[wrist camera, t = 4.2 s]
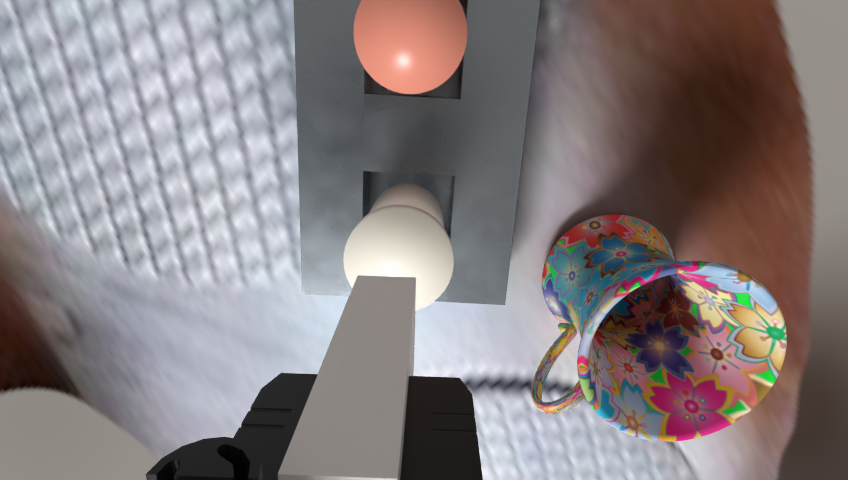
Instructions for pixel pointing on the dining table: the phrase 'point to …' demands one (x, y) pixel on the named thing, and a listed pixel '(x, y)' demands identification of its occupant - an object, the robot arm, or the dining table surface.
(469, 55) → the plug board
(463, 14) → the plug red
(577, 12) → the dining table surface
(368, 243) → the cream plug
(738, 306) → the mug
